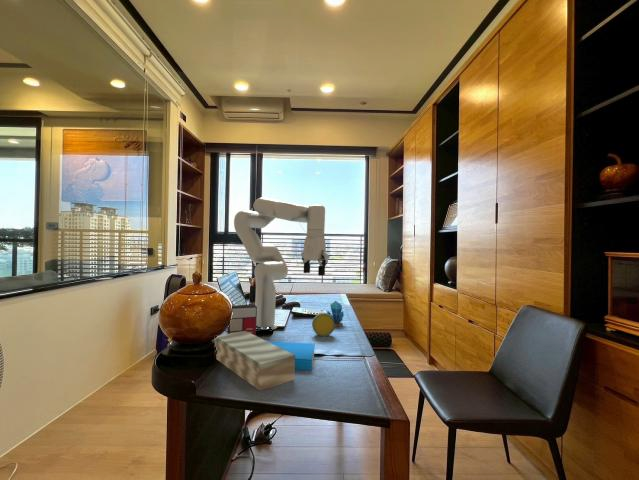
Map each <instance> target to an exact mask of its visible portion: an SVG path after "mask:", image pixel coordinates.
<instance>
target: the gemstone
mask: <svg viewBox="0 0 639 480" xmlns="http://www.w3.org/2000/svg"><path fill="white" fill-rule="evenodd" d="M329 306H330V311H331V312H330V311H329V310H327V311H326V313H327V314H329V315H331V317H332V318H333V320H334V322H335V328H339V327H338V326H341V327H342V326H343V325H344V323H343V318H344V315H345V314H344V311H343V306H342V304H341V303H340V302H338V301H337V300H335V301H333V302H332V303H330V305H329Z"/></svg>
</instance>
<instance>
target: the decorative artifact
mask: <svg viewBox="0 0 639 480" xmlns="http://www.w3.org/2000/svg"><path fill="white" fill-rule="evenodd" d="M311 322H312V323H311V325H312V330H313V332H314V333H315V335H317V336H320V337H328V336H330V335H332V333H333V332H334V330H335V328H336V327H335V322H334V320H333V318H332V317H331V315H329V314H327V312H320V313H318V314H316V315H315V316H314V317H313V319H312V321H311Z"/></svg>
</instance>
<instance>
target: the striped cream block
mask: <svg viewBox="0 0 639 480" xmlns="http://www.w3.org/2000/svg"><path fill="white" fill-rule="evenodd" d="M216 336H217V337H216V338H215V337H214V348H215V347H216V350H217V354H216V360H217V361H219V362H220V364H222V365H223V366H224V367H226V368H228V369H229V370H230V371H232V372H233V373H235V374H236V375H237V376H239V377H240V378H242V379H243V380H244V381H246V383H248V384H250V385H251V386H253V388H255V389H257V390H258V391H265V390H267V389H270V388H273V387H276V386H280V385H282V384H286V383H289V382H292V381H294V380H295V372H296V371H295V370H296V369H295V355H294V354H292V353H290V352H288V351H286V350H284V349H282V348H280V347H277V346H275V345H273V344H271V343H269V342H267V341H268V340H266V339H263V338H261V337H259V336H257V335H256V336H255V335H253V334H251V333H249V332H247V331H242V332H237V333H231V334H227V333H226V334H221V335H220V334H219V335H216Z"/></svg>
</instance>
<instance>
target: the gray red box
mask: <svg viewBox="0 0 639 480" xmlns="http://www.w3.org/2000/svg"><path fill="white" fill-rule="evenodd" d="M231 306H232V309H233V315H232V319H231V323H230V325H229V327H228V326H227V329H226V332H227V333H226V334H231V333H237V332H242V331H247V332H249V333H251V334H253V335H255V336H257V330H256V320H257V306H255V304H241V305H231Z"/></svg>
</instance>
